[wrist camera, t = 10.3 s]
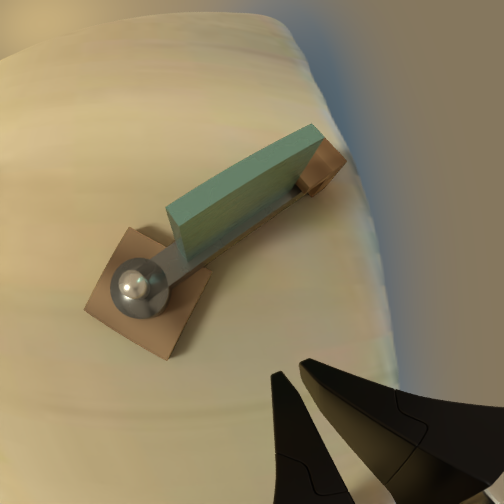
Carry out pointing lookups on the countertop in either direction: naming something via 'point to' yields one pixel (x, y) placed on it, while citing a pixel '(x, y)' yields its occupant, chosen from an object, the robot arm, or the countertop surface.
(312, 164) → the block
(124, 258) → the pintle block
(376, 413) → the robot arm
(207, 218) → the link
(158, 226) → the countertop surface
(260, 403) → the countertop surface
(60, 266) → the countertop surface
